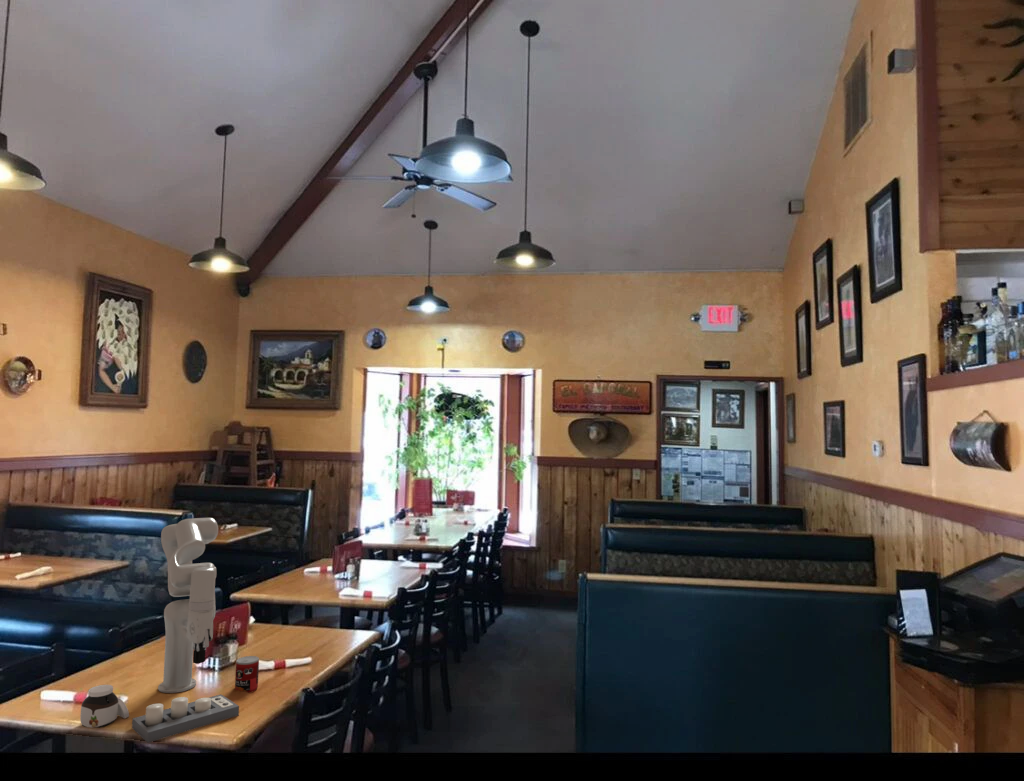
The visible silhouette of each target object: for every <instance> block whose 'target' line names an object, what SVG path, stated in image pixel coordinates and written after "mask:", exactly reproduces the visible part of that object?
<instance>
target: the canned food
mask: <svg viewBox="0 0 1024 781" xmlns="http://www.w3.org/2000/svg"><path fill="white" fill-rule="evenodd" d="M259 665H260V658H259V656H256V655H248V656H247V655H246V656H242V657H239V658H237V659H236V661H235V680H234V682H235V684H234V690H235V691H238V692H246V693H253V692H255V691H257V690H258V687H259V673H260V672H259V667H260V666H259Z"/></svg>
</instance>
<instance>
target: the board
mask: <svg viewBox="0 0 1024 781" xmlns="http://www.w3.org/2000/svg"><path fill="white" fill-rule="evenodd" d="M208 698H211V709H209V710H206V711H202V712H199V713H196V712H195V701H196V700H195V701H192V702H188V710H187V716H185V717H181V718H178V719H172V718H171V707H170V708H169V707H168V708H166V709H165V708H164V709H163V722H162V723H160V724H157V725H153V726H146V725H145V720H146V714H143V715H140V716H137V717H133V718H132V719H131V720H132V721H131V722H132V724H131V729H132V730H134V732H135V733H137V735H139V736H140V737H141V739H143V740H144V741H145V742H146V743H147V744H148V743H151V742H155V741H158V740H162V739H165V738H170V737H172V736H175V735H179V734H182V733H185V732H189V731H191V730H195V729H198V728H201V727H205V726H208V725H212V724H215V723H218V722H222V721H225V720H228V719H231V718H235V717H237V716H239V715H240V714H239V713H240V705H238V704H236V702H234V701H233V700H231V699H229V698H228V697H226V696H224V695H223V694H222V693H221V694H217V695H213V696H209V697H208Z"/></svg>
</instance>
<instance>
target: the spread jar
mask: <svg viewBox="0 0 1024 781" xmlns="http://www.w3.org/2000/svg"><path fill="white" fill-rule="evenodd" d="M113 691H114V686H113V685H111V684H101V685H96V686H93V687H91V688H89V689H88V691H87V692H88V694H87V695H88V696H87V697H85V698H84V700H83V701H82V703H81V706H80V714H79V716H80V723H81V726H83V727H85V728H90V729H91V728H92V729H93V728H94V729H101V728H104V727H107V726H109V725H112V724H113V723H114V722H115V721H116V719H117V718H118V717H121V718H123V719H125V720H126V719H127V718H129V717H130V714H129V713H130V712H129V709H128V707H127V705H126V703H125V702H124V701H123V700H122V699H121V698H119V697H118V696H117V694H116V693H114V692H113Z"/></svg>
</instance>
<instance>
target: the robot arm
mask: <svg viewBox="0 0 1024 781" xmlns="http://www.w3.org/2000/svg"><path fill="white" fill-rule="evenodd" d="M160 534H161V535H160V540H161V541H160V542H161V547H162V550H163V552H164V555H165V557H166V561H167V589H168V593H169V595H170V596H171V597H173V598H179V597H180V598H181V597H189V598H187V599H179V600H173V601H171V602H170V603H168V604H166V605H165V608H164V609H163V618H164V627H165V628H164V630H165V638H164V639H165V643H164V661H163V664H164V665H163V678H162V680H163V681H162V682H161V683H160V684H158V688H157V689H158V691H159V692H161V693H164V694H165V693H166V694H176V693H182V692H185V691H189V690H191V689H193V688H195V687H196V685H197V680H196V679H195V678H193V664H195V665H196V664H201V663H204V662H206V651H207V648H209V647H210V642H212V640H213V635H214V619H215V617H216V587H215V586H216V578H217V575H218V574H217V567H216V566H215V564H214V563H212V562H200V563H199V562H198V563H197V562H196V563H193V560H196V559H198V558H199V557H200V556H202V555H203V554H204V552H205V550H206V545H208V544H210V543H212V542H214V541H215V540H216V538H217V537H218V535H219V526H218V522H217V521H216V520H215V518H213V517H197V518H195V517H194V518H193V517H192V518H185V519H182V520H180V521H179V522H177V523H174V524H169V525H166V526H164V527H163V528H162V530H161V533H160Z"/></svg>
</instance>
